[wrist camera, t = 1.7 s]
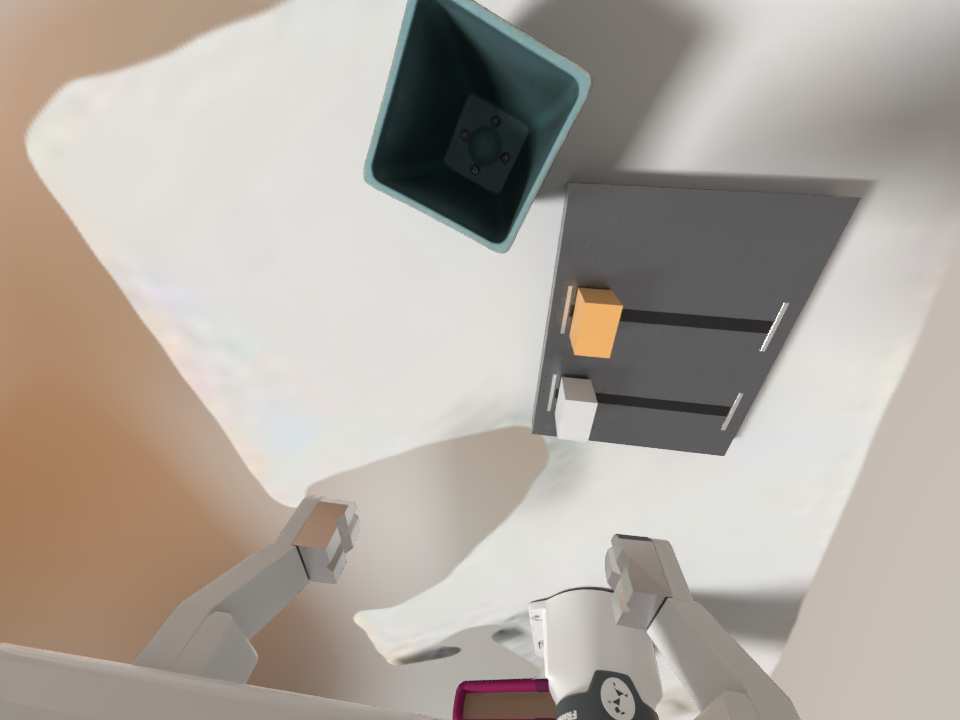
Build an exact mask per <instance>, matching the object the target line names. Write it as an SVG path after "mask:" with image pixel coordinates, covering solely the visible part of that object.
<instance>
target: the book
mask: <svg viewBox="0 0 960 720" xmlns="http://www.w3.org/2000/svg"><path fill="white" fill-rule="evenodd" d="M535 678H536V677H535ZM532 679H534V678H525V679H500V680H473V681H463V682H462V683H461V684H460V685H459V686H458V688H457V690H456V695H455V700H454V708H453V720H556V714H555V710H556V704H555V702H554V700H553V698H552V695H551V693H550V690H549V680H548V679H535V680H532Z"/></svg>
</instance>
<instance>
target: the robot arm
mask: <svg viewBox="0 0 960 720" xmlns="http://www.w3.org/2000/svg"><path fill="white" fill-rule="evenodd" d="M356 509H357V507H356V503H355V501H349V500H342V499H335V498H327V497H322V496H314V495H308V496H306V497H305V498H304V499H303V500H302V502H301V503H300V505H299V506H298V508H297V509H296V511H295V512H294V514H293V515H292V517H291V518H290V520H289V521H288V523H287V524H286V526H285V527H284V529H283V530H282V532H281V533H280V535H279V536H278V538H277V539H276V541H275V542H274V543H270V542H269V543H268V544H266V545H265V546H264V547H262V548H261V549H259V550H258V551H256V552H255V553H253V554H252V555H250V556H249V557H247V558H246V559H244V560H243V561H242V562H240V563H239V564H237V565H236V566H234V567H233V568H231V569H230V570H228V571H227V572H225V573H224V574H222V575H221V576H219V577H218V578H217V579H215V580H214V581H213V582H211V583H209V584H208V585H206V586H205V587H204V588H202V589H200V590H199V591H197V592H196V593H194V594H193V595H192V596H190V597H189V598H187V599H186V600H184V601H183V602H181V603H180V604H179V605H178V607H177V608H176V609H175V610H174V612H173V613H172V614H171V615H170V617H169V618H168V619H167V620H166V622H165V623H164V624H163V626H162V627H161V628H160V630H159V631H158V632H157V633H156V634H155V636H154V637H153V638H152V640H151V641H150V642H149V643H148V645H147V646H146V647H145V648H144V650H143V651H142V652H141V653H140V655H139V656H138V657H137V659H136V660H135V661H134V662H133V664H132V665H131V664H125V663H118V662H113V661H107V660H102V659H96V658H90V657H83V656H78V655H72V654H66V653H61V652H54V651H49V650H43V649H37V648H32V647H26V646H20V645H15V644H10V643H2V642H0V720H451V719H445V718H439V717H434V716H427V715H422V714H415V713H410V712H404V711H399V710H393V709H387V708H380V707H375V706H369V705H363V704H357V703H352V702H345V701H340V700H334V699H329V698H323V697H317V696H311V695H305V694H299V693H293V692H288V691H282V690H276V689H270V688H264V687H259V686H253V685H247V684H246V682H247V680H248V678H249V677H250V675H251V673H252V671H253V669H254V667H255V665H256V663H257V661H258V654H257V653H256V651H255V650H254V648H253V646H252V645H251V643H250V642H249V640H250V639H251V638H252V637H253V636H254V635H255V634H256V633H257V632H258V631H259V630H261V629H262V628H263V627H264V626H265V625H266V624H267V623H268V622H269V621H270V620H271V619H272V618H273V617H274V616H275V615H276V614H277V613H278V612H280V611H281V610H282V609H283V608H284V607H285V606H286V605H287V604H288V603H289V602H290V601H291V600H292V599H293V598H294V597H295V596H296V595H298V594H299V593H300V592H301V591H302V590H303V589H304V588H305V587H306V586H307V585H308V584H309V583H310V582H309V581H313V582H322V583H331V584H337V582H338V580H339V578H340V576H341V574H342V571H343V569H344V567H345V565H346V563H347V561H346V556H345V554H346V553H347V552H348V551H350V550H351V549H352V548H353V547H354V544H355V542H356V540H357V536H358V533H359V527H360V520H359V517H358V516H357V515H356V514H355V511H356ZM611 542H612V546H613V547H611V548H609V549H608V550H607V553H606V557H605V571H606V578H607V583H608V584H609V585H610V587H611V588H612V589H613V590H614V593H611V592H607V591H601V590H589V589H585V590H573V591H568V592H564V593H561V594H558V595H556V596H554V597H552V598H550V599H548V600H544V601H538V602H533V603H530V604H529V605H528V609H529V617H530V624H531V630H532V637H533V643H534V650H535V654H536V656H537V657H539V658H541V659H543V660H545V676H546V678H548V680H549V690H550V693H551V695H552V698H553V700H554V702H555V704H556V710H555V714H556V720H659V718H658V715H657V713H656V712H655V708H656V705H657V704H658V703H659V702H660V700H661V698H662V697H663V691H662V685H661V680H660V675H659V671H658V666H657V661H656V656H655V651H654V647H653V642H654V644H655V645H656V647H657V648H658V650H659V651H660V653H661V654H662V656H663V657H664V659H665V660H666V662H667V663H668V665H669V666H670V668H671V669H672V671H673V672H674V674H675V675H676V677H677V678H678V680H679V681H680V683H681V684H682V686H683V687H684V689H685V690H686V692H687V693H688V694H689V696H690V697H691V699H692V700H693V702H694V703H695V705H696V706H697V708H698V709H699V711H700V712H701V713H700V714H699V715H698V716H697V717H696V718H695V719H694V720H800V718H799V716H798V714H797V711H796V709H795V707H794V706H793V703H792V702H791V700H790V698H789V697H788V696H787V695H786V694H785V693H784V692H783V691H782V690H781V689H780V688H779V687H778V686H777V685H776V683H775V682H773V680H772V679H771V678H770V677H769V676H768V675H767V674H766V673H765V672H764V671H763V670H762V669H761V667H760V666H759V665H758V664H757V663H756V662H755V661H754V660H753V659H752V658H751V657H750V656H749V655H748V654H747V653H746V651H745V650H744V649H743V648H742V647H741V646H740V645H739V644H738V643H737V642H736V641H735V640H734V639H733V638H732V637H731V636H730V634H729V633H728V632H727V631H726V630H725V629H724V628H723V627H722V626H721V625H720V624H719V623H718V622H717V621H716V620H715V618H714V617H713V616H712V615H711V614H710V613H709V612H708V611H707V610H706V609H705V608H704V607H703V606H702V605H701V604H700V603H699V602H696V601H693V598H692V596H691V593H690V591H689V588H688V586H687V583H686V581H685V578H684V576H683V573H682V571H681V568H680V566H679V563H678V561H677V558H676V556H675V553H674V551H673V548H672V546H671V544H670V543H669V542H668V541H667V540H661V539H652V538H648V537H639V536H630V535H621V534H615V535H613V538H612V540H611ZM652 641H653V642H652Z"/></svg>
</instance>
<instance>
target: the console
mask: <svg viewBox="0 0 960 720" xmlns="http://www.w3.org/2000/svg"><path fill="white" fill-rule="evenodd" d="M859 200H860V198H852V197H837V196H819V195H799V194H780V193H760V192H741V191H722V190H702V189H683V188H663V187H644V186H624V185H605V184H585V183H567V189H566V196H565V202H564V209H563V216H562V222H561V229H560V236H559V243H558V249H557V256H556V263H555V269H554V276H553V283H552V290H551V296H550V303H549V310H548V316H547V323H546V330H545V337H544V343H543V350H542V357H541V363H540V370H539V377H538V384H537V390H536V397H535V404H534V410H533V417H532V434H540V435H548V436H556V437H557V429H556V420H555V409H556V404H557V399H558V393H559V388H560V383H561V377H568V378H578V379H588V380H591V382H592V386H593V389H594V392H595V396H596V399H597V402H598V404H597V408H596V412H595V416H594V420H593V424H592V428H591V431H590V435H589V439H588V440H591V441H599V442H608V443H616V444H625V445H633V446H642V447H651V448H659V449H668V450H676V451H685V452H693V453H702V454H711V455H719V456H724V455H725V453H726V452H727V450H728V448H729V446H730V444H731V442H732V440H733V438H734V436H735V435H736V433H737V431H738V429H739V427H740V425H741V423H742V421H743V419H744V417H745V416H746V414H747V412H748V410H749V408H750V406H751V404H752V402H753V400H754V399H755V397H756V395H757V393H758V391H759V389H760V387H761V385H762V383H763V382H764V380H765V378H766V376H767V374H768V372H769V370H770V368H771V366H772V364H773V363H774V361H775V359H776V357H777V355H778V353H779V351H780V349H781V347H782V346H783V344H784V342H785V340H786V338H787V336H788V334H789V332H790V330H791V328H792V327H793V325H794V323H795V321H796V319H797V317H798V315H799V313H800V311H801V310H802V308H803V306H804V304H805V302H806V300H807V298H808V296H809V294H810V293H811V291H812V289H813V287H814V285H815V283H816V281H817V279H818V277H819V275H820V274H821V272H822V270H823V268H824V266H825V264H826V262H827V260H828V258H829V257H830V255H831V253H832V251H833V249H834V247H835V245H836V243H837V241H838V239H839V238H840V236H841V234H842V232H843V230H844V228H845V226H846V224H847V222H848V221H849V219H850V217H851V215H852V213H853V211H854V209H855V207H856V205H857V204H858V202H859ZM578 288H589V289H602V290H612V291H613V293H614V294H615V295H616V297H617V298H618V299H619V301H620V302H621V304H622V305H623V308H622V312H621V316H620V320H619V323H618V327H617V331H616V335H615V339H614V343H613V347H612V350H611V354H610V358H601V357H590V356H580V355H574V352H573V348H572V344H571V340H570V336H569V335H570V329H571V324H572V319H573V313H574V308H575V303H576V297H577V292H578Z"/></svg>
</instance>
